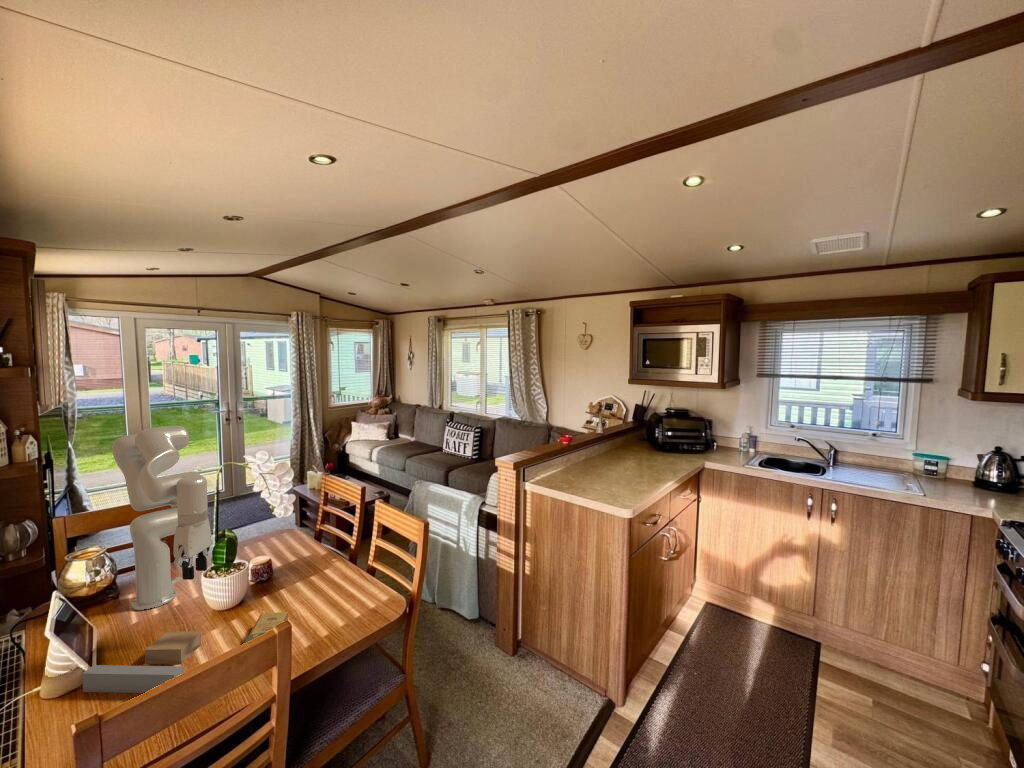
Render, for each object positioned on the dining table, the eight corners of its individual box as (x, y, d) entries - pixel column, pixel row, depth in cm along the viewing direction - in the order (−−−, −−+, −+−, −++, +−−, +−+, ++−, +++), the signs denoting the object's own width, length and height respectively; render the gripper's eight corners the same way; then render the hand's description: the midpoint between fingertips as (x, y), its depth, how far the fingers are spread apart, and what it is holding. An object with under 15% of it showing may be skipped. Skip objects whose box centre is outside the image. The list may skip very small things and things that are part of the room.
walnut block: (167, 646, 128) (166, 631, 128) (201, 645, 129) (200, 631, 128) (145, 665, 120) (144, 649, 120) (181, 664, 121) (180, 649, 120)
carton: (288, 623, 140) (288, 610, 140) (273, 656, 124) (273, 642, 124) (260, 626, 138) (260, 613, 138) (241, 660, 122) (241, 646, 122)
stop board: (94, 683, 113) (93, 665, 113) (184, 684, 113) (183, 666, 112) (83, 692, 110) (82, 673, 110) (175, 693, 110) (174, 674, 110)
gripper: (201, 507, 140) (203, 561, 141) (157, 527, 123) (160, 589, 124) (224, 507, 140) (225, 562, 141) (183, 528, 123) (185, 589, 124)
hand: (195, 574), depth 132 cm, fingers open, 4 cm apart
